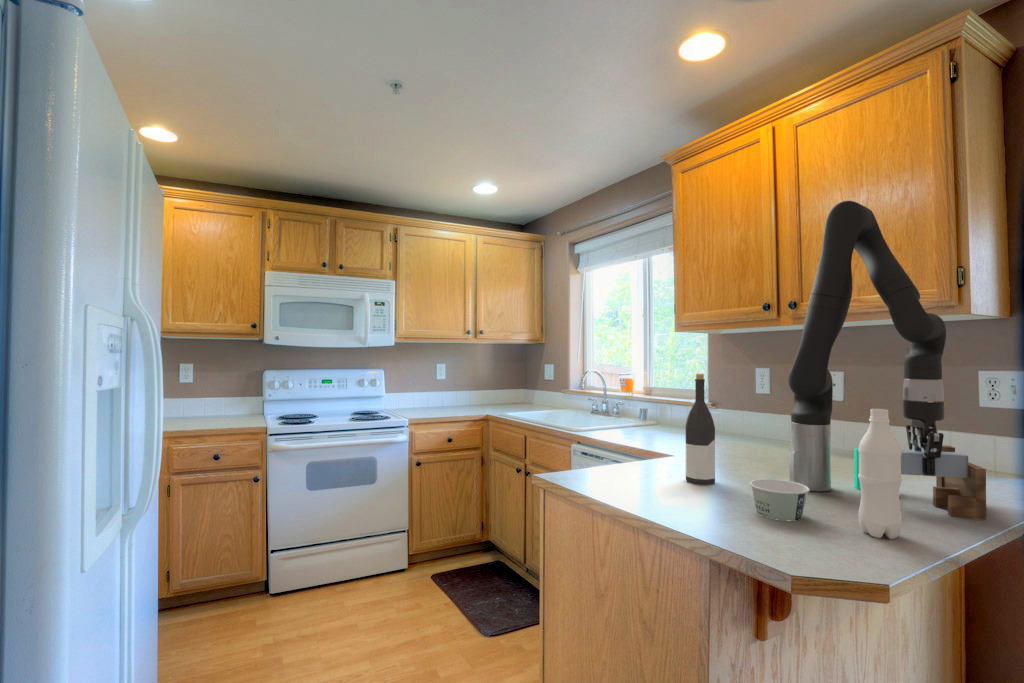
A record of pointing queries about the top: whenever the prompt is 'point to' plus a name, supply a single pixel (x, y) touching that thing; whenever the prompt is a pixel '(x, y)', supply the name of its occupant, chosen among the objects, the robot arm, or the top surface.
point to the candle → (856, 469)
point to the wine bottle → (700, 440)
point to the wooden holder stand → (962, 492)
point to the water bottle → (880, 478)
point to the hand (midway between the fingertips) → (924, 472)
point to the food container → (779, 498)
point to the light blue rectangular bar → (944, 466)
